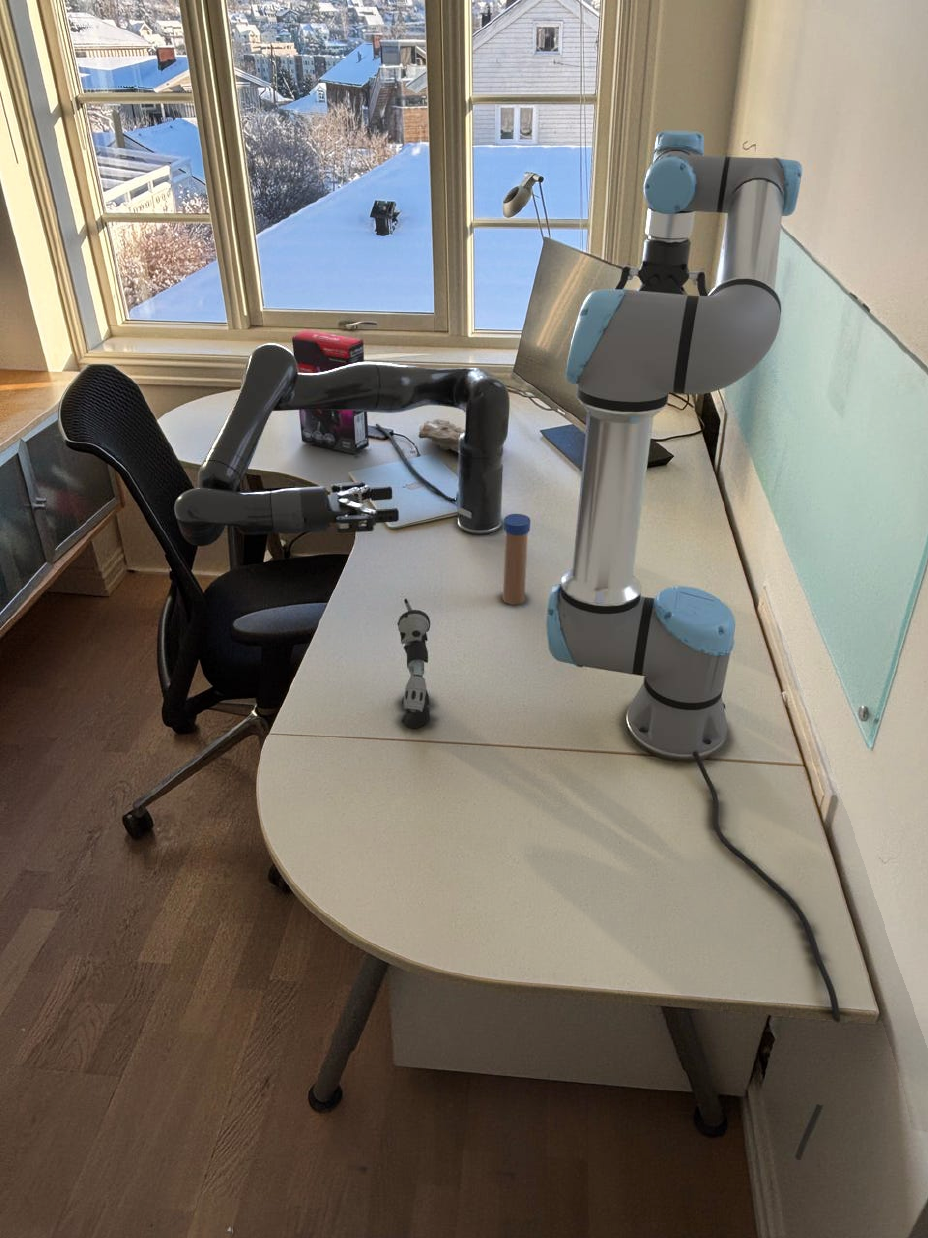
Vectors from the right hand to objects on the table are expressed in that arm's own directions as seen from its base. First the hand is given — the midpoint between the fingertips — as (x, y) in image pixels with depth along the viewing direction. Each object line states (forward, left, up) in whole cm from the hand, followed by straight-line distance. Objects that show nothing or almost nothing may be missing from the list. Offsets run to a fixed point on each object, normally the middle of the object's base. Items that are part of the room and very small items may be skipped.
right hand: (652, 364), depth 163 cm
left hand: (-29, +39, -18) cm, 52 cm away
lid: (-19, +19, -24) cm, 36 cm away
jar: (-19, +19, -41) cm, 49 cm away
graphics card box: (+39, +79, -41) cm, 97 cm away
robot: (-56, +27, -41) cm, 74 cm away
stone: (+45, +49, -41) cm, 78 cm away
